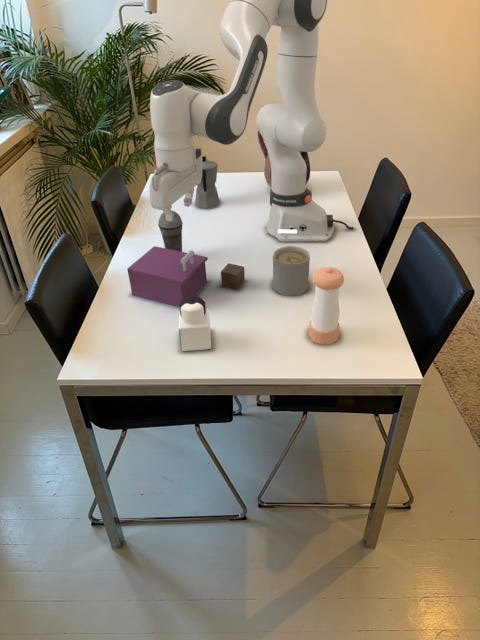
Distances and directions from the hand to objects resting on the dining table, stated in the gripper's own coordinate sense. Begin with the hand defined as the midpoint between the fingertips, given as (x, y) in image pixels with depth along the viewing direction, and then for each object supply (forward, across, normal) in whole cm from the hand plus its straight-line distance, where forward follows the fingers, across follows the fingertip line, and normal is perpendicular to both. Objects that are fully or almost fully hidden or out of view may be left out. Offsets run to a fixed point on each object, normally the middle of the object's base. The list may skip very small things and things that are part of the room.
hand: (179, 212), depth 126 cm
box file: (+24, 0, +6) cm, 25 cm away
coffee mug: (+24, +15, -26) cm, 38 cm away
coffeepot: (+24, +56, +21) cm, 64 cm away
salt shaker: (+24, -5, -41) cm, 47 cm away
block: (+24, +9, -10) cm, 28 cm away
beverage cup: (+24, +16, +13) cm, 32 cm away
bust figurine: (+24, -18, -12) cm, 33 cm away
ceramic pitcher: (+23, +78, -1) cm, 81 cm away
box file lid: (+16, 0, +5) cm, 17 cm away
